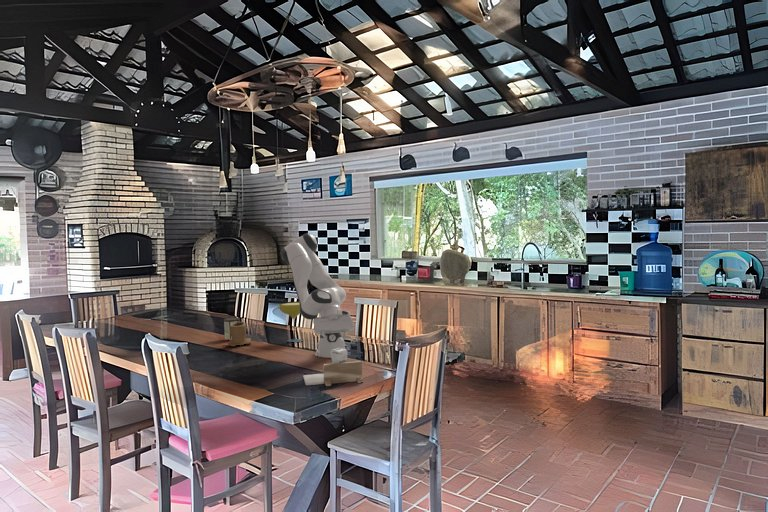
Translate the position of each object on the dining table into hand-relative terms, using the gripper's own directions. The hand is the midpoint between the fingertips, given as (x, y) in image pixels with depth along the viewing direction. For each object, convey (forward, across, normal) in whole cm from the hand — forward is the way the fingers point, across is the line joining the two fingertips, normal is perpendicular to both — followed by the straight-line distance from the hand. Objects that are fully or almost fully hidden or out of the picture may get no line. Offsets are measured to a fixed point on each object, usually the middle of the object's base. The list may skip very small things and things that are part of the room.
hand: (335, 339), depth 260 cm
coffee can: (-60, -62, +84) cm, 121 cm away
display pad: (+19, -11, +5) cm, 23 cm away
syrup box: (+20, +1, +4) cm, 21 cm away
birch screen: (+25, +2, 0) cm, 25 cm away
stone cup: (-45, -55, +70) cm, 99 cm away
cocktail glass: (-47, -21, +71) cm, 88 cm away
